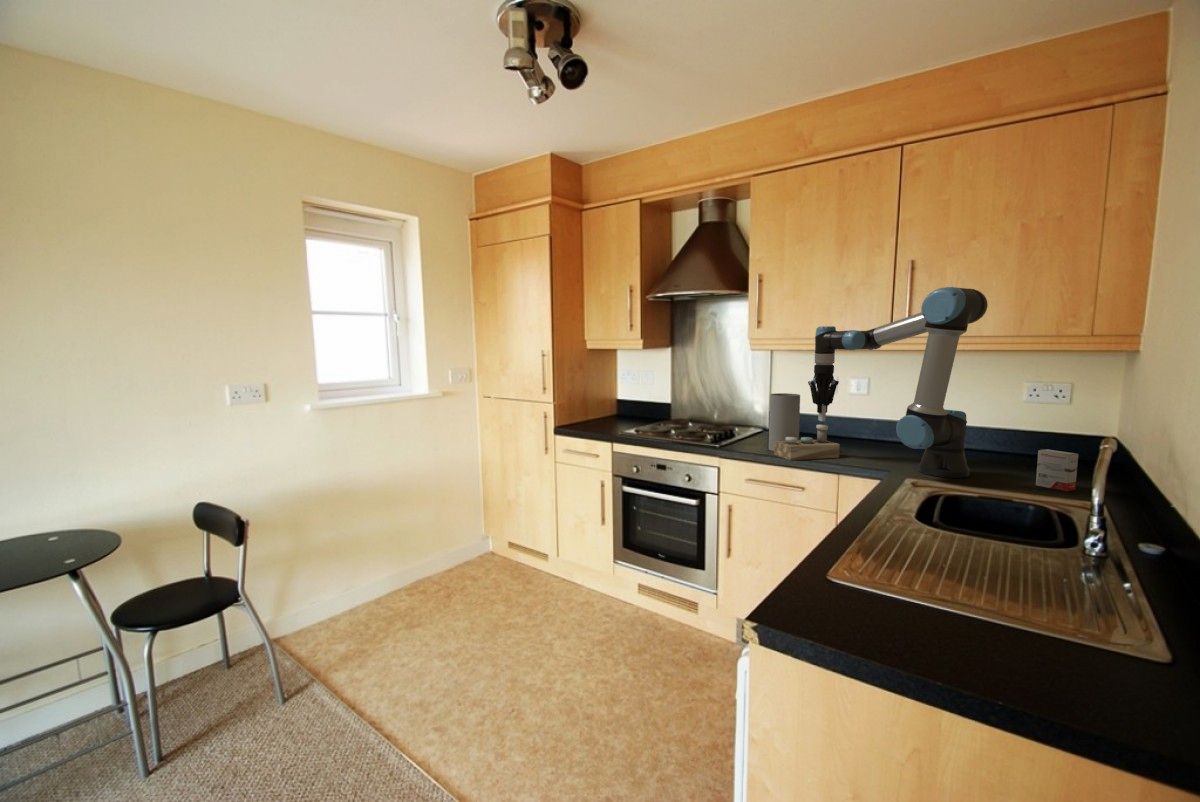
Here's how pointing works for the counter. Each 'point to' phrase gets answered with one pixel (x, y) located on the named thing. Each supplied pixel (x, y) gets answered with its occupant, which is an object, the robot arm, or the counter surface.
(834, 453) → the mount
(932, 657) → the counter surface
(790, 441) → the knob left
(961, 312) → the robot arm
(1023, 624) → the counter surface
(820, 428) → the knob right
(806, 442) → the knob middle
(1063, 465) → the ink box
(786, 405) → the cylinder vase
